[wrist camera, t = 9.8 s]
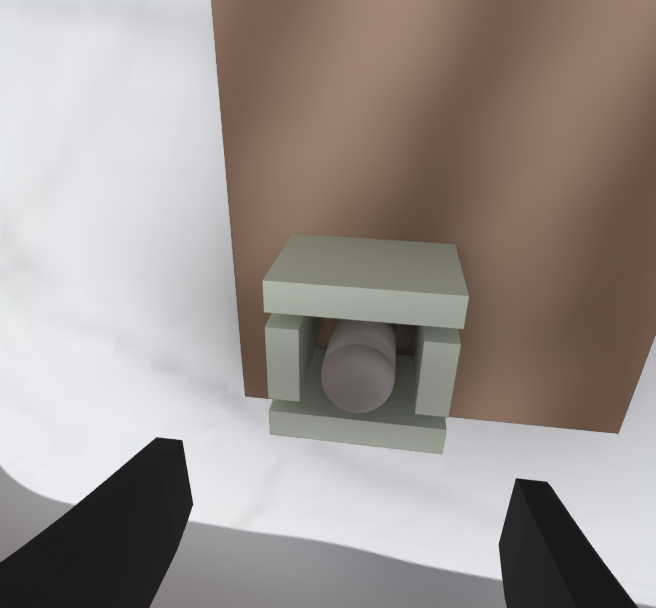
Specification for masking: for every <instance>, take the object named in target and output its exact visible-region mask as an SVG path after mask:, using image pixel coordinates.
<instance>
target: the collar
mask: <svg viewBox="0 0 656 608" xmlns="http://www.w3.org/2000/svg"><path fill="white" fill-rule="evenodd" d="M468 300H469V294H468V291H467V287H466V283H465V279H464V275H463V272H462V268H461V264H460V260H459V257H458V253H457V249H456V245H455V244H444V243H429V242H413V241H397V240H382V239H366V238H351V237H335V236H320V235H304V234H292V235H291V236H290V238H289V240H288V241H287V243H286V244H285V246H284V248H283V249H282V251H281V252H280V254H279V255H278V257H277V259H276V260H275V262H274V263H273V265H272V266H271V268H270V270H269V271H268V273H267V274H266V276H265V277H264V279H263V301H264V312H267V313H272V314H271V316H270V318H269V320H268V322H267V324H266V326H265V341H266V361H267V381H268V398H270V399H273V402H272V404H271V407H270V409H269V421H270V434H271V435H280V436H288V437H297V438H306V439H314V440H323V441H332V442H341V443H349V444H358V445H367V446H375V447H384V448H393V449H402V450H410V451H419V452H428V453H436V454H442V453H443V447H444V441H445V435H446V422H445V417H449V411H450V405H451V400H452V394H453V388H454V382H455V376H456V370H457V364H458V358H459V353H460V347H461V343H460V338H459V332H458V329H464V323H465V317H466V311H467V305H468ZM320 317H327V318H338V319H350V320H362V321H374V322H386V323H398V324H410V325H415V334H414V342H413V355H414V356H409V355H398V354H396V362H395V382H394V387H393V390H392V392H391V394H390V396H389V397H388V399H387V400H386V401H385V402H384V403H383V404H382V405H381V406H379V407H378V408H376V409H374V410H372V411H369V412H365V413H352V412H348V411H345V410H342V409H340V408H339V407H337V406H336V405H335V404H334V403H332V401H331V400H330V399H329V398H328V397H327V395H326V393H325V391H324V389H323V386H322V381H321V370H322V365H323V361H324V358H325V354H326V350H327V348H321V347H316V346H317V342H318V339H319V322H320Z"/></svg>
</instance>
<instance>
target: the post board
mask: <svg viewBox="0 0 656 608" xmlns="http://www.w3.org/2000/svg"><path fill="white" fill-rule="evenodd" d="M211 6H212V17H213V29H214V40H215V52H216V64H217V75H218V87H219V99H220V110H221V122H222V134H223V145H224V157H225V168H226V180H227V192H228V203H229V215H230V227H231V238H232V250H233V261H234V273H235V285H236V296H237V308H238V320H239V331H240V343H241V355H242V366H243V378H244V389H245V396H246V397H256V398H266V399H270V398H268V381H267V361H266V341H265V326H266V324H267V322H268V320H269V318H270V316H271V314H272V313H267V312H264V301H263V279H264V277H265V276H266V274H267V273H268V271H269V270H270V268H271V266H272V265H273V263H274V262H275V260H276V259H277V257H278V255H279V254H280V252H281V251H282V249H283V248H284V246H285V244H286V243H287V241H288V240H289V238H290V236H291V235H292V234H304V235H320V236H335V237H351V238H366V239H382V240H397V241H413V242H429V243H444V244H455V245H456V249H457V253H458V257H459V260H460V264H461V268H462V272H463V275H464V279H465V283H466V287H467V291H468V294H469V300H468V305H467V311H466V317H465V323H464V329H458V332H459V338H460V343H461V347H460V353H459V358H458V364H457V370H456V376H455V382H454V388H453V394H452V400H451V405H450V411H449V417H456V418H466V419H476V420H486V421H496V422H506V423H516V424H526V425H536V426H546V427H556V428H566V429H576V430H586V431H596V432H606V433H616V434H618V433H619V431H620V428H621V426H622V423H623V420H624V418H625V415H626V412H627V410H628V407H629V404H630V402H631V399H632V396H633V394H634V391H635V388H636V386H637V383H638V380H639V378H640V375H641V372H642V370H643V367H644V364H645V362H646V359H647V356H648V354H649V351H650V348H651V346H652V343H653V340H654V338H655V335H656V0H211ZM414 334H415V325H410V324H398V323H386V322H374V321H362V320H350V319H338V318H327V317H320V322H319V339H318V342H317V346H316V347H321V348H327V350H326V354H325V358H324V361H323V365H322V370H321V381H322V386H323V389H324V391H325V393H326V395H327V397H328V398H329V399H330V400H331V401H332V403H334V404H335V405H336V406H337V407H339V408H340V409H342V410H345V411H348V412H352V413H365V412H369V411H372V410H374V409H376V408H378V407H379V406H381V405H382V404H383V403H384V402H385V401H386V400H387V399H388V397H389V396H390V394H391V392H392V390H393V387H394V382H395V362H396V354H398V355H409V356H414V355H413V342H414Z"/></svg>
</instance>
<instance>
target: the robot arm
mask: <svg viewBox="0 0 656 608" xmlns="http://www.w3.org/2000/svg"><path fill="white" fill-rule="evenodd" d="M192 506H193V500H192V495H191V489H190V483H189V477H188V471H187V465H186V459H185V453H184V448H183V442H182V440H176V439H167V438H158V437H156V438H155V439H154V440H153V441H152V442H150V443H149V444H148V445H147V446H146V447H144V448H143V449H142V450H141V451H140V452H138V453H137V454H136V455H135V456H134V457H133V458H131V459H130V460H129V461H128V462H127V463H126V464H124V465H123V466H122V467H121V468H120V469H119V470H117V471H116V472H115V473H114V474H113V475H111V476H110V477H109V478H108V479H107V480H106V481H104V482H103V483H102V484H101V485H100V486H98V487H97V488H96V489H95V490H94V491H92V492H91V493H90V494H89V495H88V496H86V497H85V498H84V499H83V500H81V501H80V502H79V503H78V504H77V505H75V506H74V507H73V508H72V509H71V510H69V511H68V512H67V513H66V514H64V515H63V516H62V517H61V518H59V519H58V520H57V521H55V522H54V523H53V524H51V525H50V526H49V527H48V528H46V529H45V530H44V531H42V532H41V533H40V534H38V535H37V536H36V537H34V538H33V539H32V540H30V541H29V542H28V543H27V544H25V545H24V546H23V547H21V548H20V549H18V550H17V551H16V552H14V553H13V554H12V555H10V556H9V557H7V558H6V559H5V560H3V561H2V562H0V608H149V607H150V605H151V603H152V601H153V599H154V597H155V595H156V593H157V591H158V589H159V587H160V585H161V582H162V580H163V578H164V576H165V574H166V572H167V570H168V568H169V566H170V564H171V562H172V560H173V558H174V555H175V553H176V551H177V549H178V546H179V543H180V541H181V538H182V535H183V532H184V530H185V527H186V524H187V521H188V518H189V515H190V512H191V509H192ZM499 552H500V561H501V571H502V579H503V586H504V595H505V600H506V605H507V608H638V607H637V605H636V604H635V603H634V602H633V600H632V599H631V598H630V596H629V595H628V594H627V592H626V591H625V590H624V588H623V587H622V586H621V584H620V583H619V582H618V580H617V579H616V578H615V577H614V575H613V574H612V573H611V571H610V570H609V569H608V567H607V566H606V565H605V563H604V562H603V560H602V559H601V558H600V556H599V555H598V554H597V552H596V551H595V549H594V548H593V547H592V545H591V544H590V542H589V541H588V540H587V538H586V537H585V535H584V534H583V532H582V531H581V530H580V528H579V527H578V525H577V524H576V522H575V521H574V519H573V518H572V517H571V515H570V514H569V512H568V511H567V509H566V508H565V506H564V505H563V503H562V502H561V500H560V499H559V497H558V496H557V494H556V493H555V491H554V490H553V489H552V487H551V486H550V485H549V484H548V482H544V481H535V480H527V479H518V478H516V480H515V484H514V488H513V492H512V495H511V499H510V503H509V507H508V511H507V514H506V518H505V522H504V526H503V530H502V533H501V537H500V541H499Z"/></svg>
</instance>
